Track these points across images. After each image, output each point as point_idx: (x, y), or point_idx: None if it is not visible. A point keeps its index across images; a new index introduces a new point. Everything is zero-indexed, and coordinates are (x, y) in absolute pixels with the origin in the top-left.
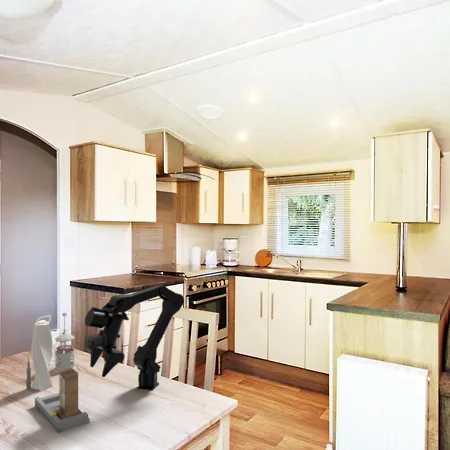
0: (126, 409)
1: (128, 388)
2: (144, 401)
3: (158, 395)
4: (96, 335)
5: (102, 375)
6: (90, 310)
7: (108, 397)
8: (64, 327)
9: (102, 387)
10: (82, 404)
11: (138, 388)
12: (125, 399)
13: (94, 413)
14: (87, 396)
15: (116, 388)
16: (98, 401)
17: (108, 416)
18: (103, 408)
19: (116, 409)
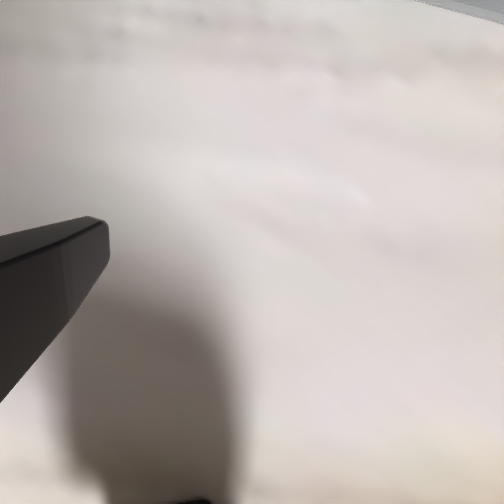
0: (4, 222)
1: (274, 478)
2: None
3: (14, 477)
4: None
5: (71, 220)
6: None
7: (282, 298)
8: None
9: (485, 408)
10: (373, 85)
11: (199, 500)
12: (142, 335)
13: (138, 31)
14: (466, 222)
15: (359, 442)
16: (294, 204)
17: (9, 65)
18: (153, 138)
19: (59, 183)
